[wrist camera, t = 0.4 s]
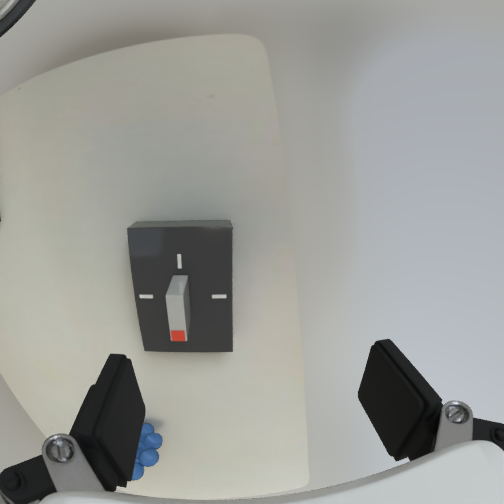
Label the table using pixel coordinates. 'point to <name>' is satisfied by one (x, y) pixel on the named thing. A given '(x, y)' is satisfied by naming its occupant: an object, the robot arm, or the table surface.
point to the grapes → (146, 450)
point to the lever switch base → (199, 278)
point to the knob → (178, 308)
